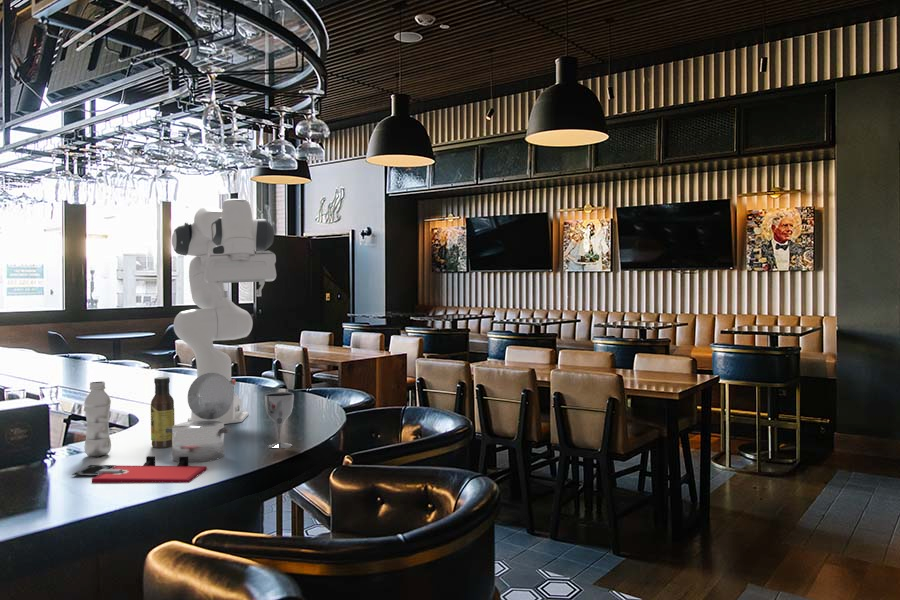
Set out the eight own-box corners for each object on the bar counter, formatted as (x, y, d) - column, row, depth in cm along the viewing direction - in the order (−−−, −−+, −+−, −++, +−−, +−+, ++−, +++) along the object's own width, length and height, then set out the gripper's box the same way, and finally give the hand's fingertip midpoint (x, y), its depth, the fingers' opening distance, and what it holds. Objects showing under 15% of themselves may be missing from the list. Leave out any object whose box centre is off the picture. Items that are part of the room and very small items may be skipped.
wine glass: (286, 450, 183) (286, 396, 183) (260, 448, 185) (259, 395, 185) (298, 443, 191) (298, 392, 191) (273, 442, 193) (272, 391, 193)
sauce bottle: (154, 444, 192) (153, 376, 191) (177, 443, 193) (176, 375, 192) (148, 449, 185) (147, 378, 185) (171, 448, 186) (171, 378, 186)
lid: (185, 419, 183) (190, 419, 186) (231, 419, 182) (235, 419, 185) (189, 372, 185) (193, 373, 188) (234, 372, 184) (238, 373, 187)
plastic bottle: (106, 451, 182) (106, 380, 182) (114, 455, 177) (114, 382, 177) (81, 455, 178) (80, 382, 178) (88, 460, 173) (88, 384, 173)
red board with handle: (94, 466, 167) (59, 484, 152) (94, 455, 167) (59, 472, 152) (212, 467, 167) (188, 485, 152) (212, 456, 167) (188, 473, 152)
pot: (181, 449, 184) (181, 419, 184) (239, 450, 183) (239, 420, 183) (156, 462, 170) (155, 429, 170) (219, 463, 169) (218, 430, 169)
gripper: (274, 253, 200) (277, 297, 198) (203, 254, 193) (205, 300, 191) (276, 247, 195) (279, 292, 192) (202, 248, 187) (205, 296, 185)
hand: (242, 296), depth 192 cm, fingers open, 8 cm apart
